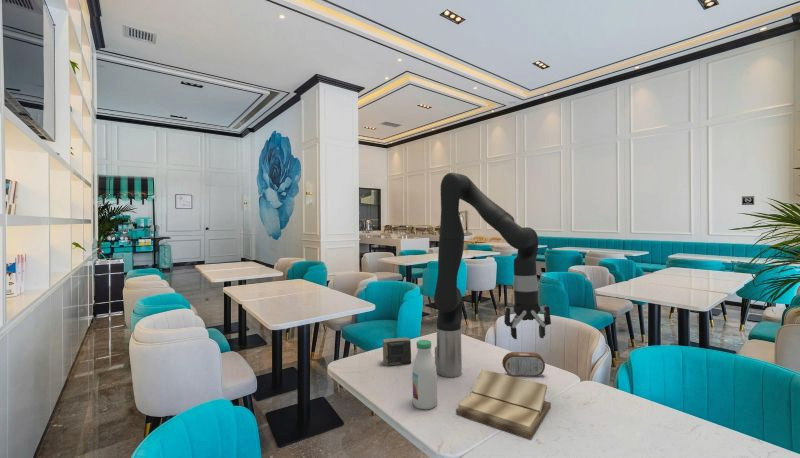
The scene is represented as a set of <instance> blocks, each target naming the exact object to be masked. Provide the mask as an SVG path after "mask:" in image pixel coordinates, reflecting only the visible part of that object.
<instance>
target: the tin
mask: <svg viewBox="0 0 800 458" xmlns="http://www.w3.org/2000/svg"><path fill="white" fill-rule="evenodd" d="M501 365H502V368H503V369H504V371H505V373H507V375H508V376H512V377H528V378H529V377H533V378H535V377H539V376H540V375H542V374H543V373H544V372H545V370H546V369H545V368H546V364H545V361H544V359H543V357H542V356H541V355H540V354H539V353H537V352H524V351H523V352H521V351H520V352H519V351H518V352H517V351H512V352H511V351H510V352H508V353H506V354H505V355H504V356H503V358H502V363H501Z"/></svg>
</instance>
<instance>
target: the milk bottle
mask: <svg viewBox="0 0 800 458" xmlns="http://www.w3.org/2000/svg"><path fill="white" fill-rule="evenodd" d="M431 349H432V341H430V339H429V340H428V339H419V340H417V341H416V350H417V352H416V355H415V358H414V360H413V363H412V371H411V372H412V373H411V374H412V380H411V381H412V403H413V404H412V405H413V406H414V407H415V408H417V409H419V410H431V409H434V408H435V407H436V406H437V404H438V380H437V379H438V378H437V377H438V376H437V374H438V373H437V372H436V364H435V358H433V357H434V356H433V354H432V351H431Z"/></svg>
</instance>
